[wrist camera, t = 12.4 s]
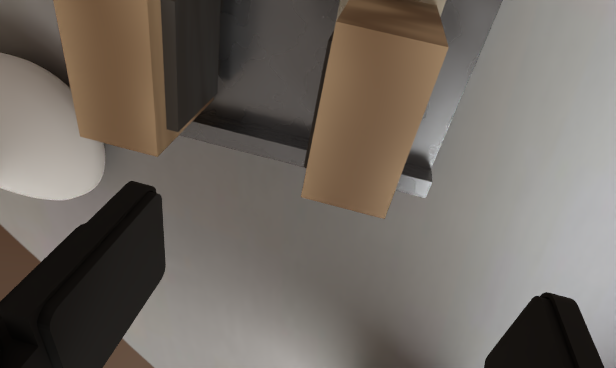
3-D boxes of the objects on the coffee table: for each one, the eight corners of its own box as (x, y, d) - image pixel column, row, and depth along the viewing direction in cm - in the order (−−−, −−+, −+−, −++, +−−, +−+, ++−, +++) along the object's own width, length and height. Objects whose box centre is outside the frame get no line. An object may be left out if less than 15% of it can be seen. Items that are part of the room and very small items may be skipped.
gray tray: (512, -38, 19) (525, -30, 17) (424, 175, 26) (425, 198, 24) (112, -124, 20) (80, -127, 18) (134, 102, 28) (113, 118, 26)
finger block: (436, 5, 20) (448, 47, 14) (390, 145, 24) (384, 218, 19) (351, -14, 20) (329, 19, 14) (321, 128, 25) (295, 195, 19)
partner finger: (229, -44, 20) (161, -23, 15) (223, 101, 25) (169, 159, 19) (143, -63, 21) (43, -50, 15) (152, 84, 25) (79, 136, 20)
